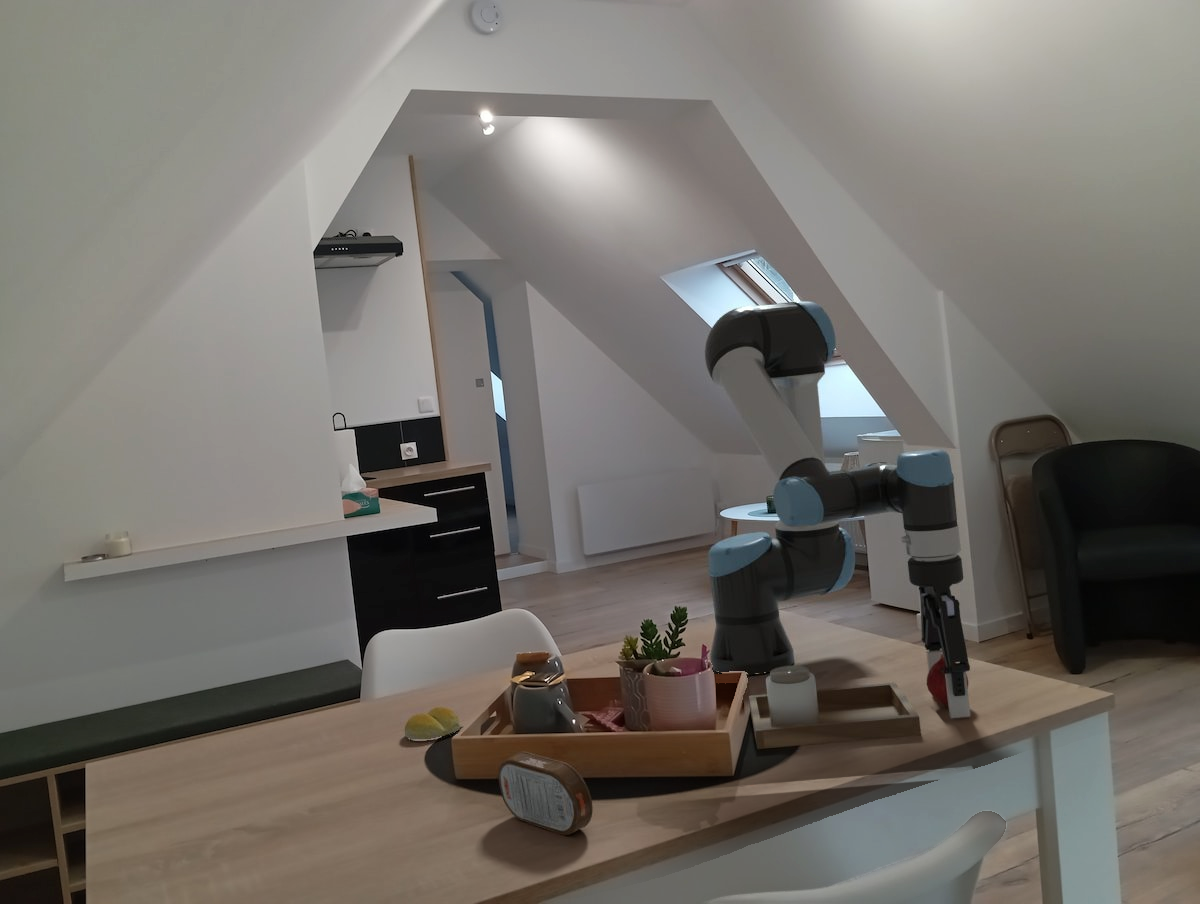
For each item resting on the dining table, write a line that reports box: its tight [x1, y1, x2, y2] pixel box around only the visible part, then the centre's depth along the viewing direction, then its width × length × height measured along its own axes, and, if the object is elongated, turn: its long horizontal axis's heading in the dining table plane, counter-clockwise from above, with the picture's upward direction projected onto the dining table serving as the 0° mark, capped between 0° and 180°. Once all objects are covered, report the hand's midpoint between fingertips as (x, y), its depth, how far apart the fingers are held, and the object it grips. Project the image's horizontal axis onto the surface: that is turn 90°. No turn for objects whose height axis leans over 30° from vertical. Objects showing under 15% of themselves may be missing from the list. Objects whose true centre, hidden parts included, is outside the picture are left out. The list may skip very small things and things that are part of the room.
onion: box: [926, 654, 969, 708], centre depth 146 cm, size 6×6×8 cm
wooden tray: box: [748, 681, 922, 750], centre depth 143 cm, size 16×22×4 cm
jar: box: [765, 665, 820, 727], centre depth 144 cm, size 7×7×8 cm
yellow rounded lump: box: [404, 706, 462, 739], centre depth 164 cm, size 8×9×4 cm
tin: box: [497, 750, 594, 836], centre depth 122 cm, size 15×3×8 cm, turn 44°
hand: (949, 704), depth 146 cm, fingers open, 10 cm apart
